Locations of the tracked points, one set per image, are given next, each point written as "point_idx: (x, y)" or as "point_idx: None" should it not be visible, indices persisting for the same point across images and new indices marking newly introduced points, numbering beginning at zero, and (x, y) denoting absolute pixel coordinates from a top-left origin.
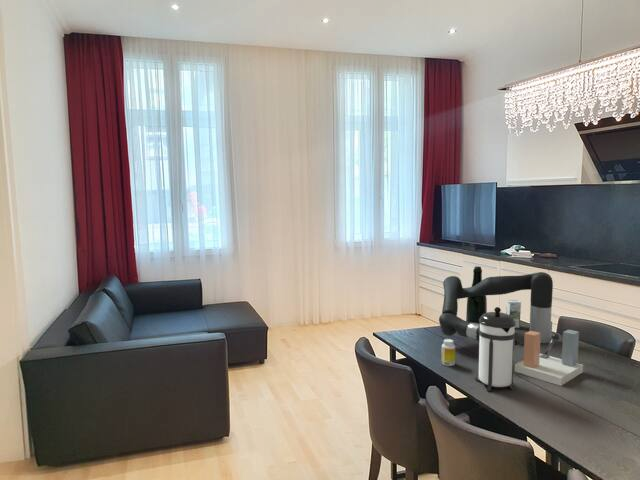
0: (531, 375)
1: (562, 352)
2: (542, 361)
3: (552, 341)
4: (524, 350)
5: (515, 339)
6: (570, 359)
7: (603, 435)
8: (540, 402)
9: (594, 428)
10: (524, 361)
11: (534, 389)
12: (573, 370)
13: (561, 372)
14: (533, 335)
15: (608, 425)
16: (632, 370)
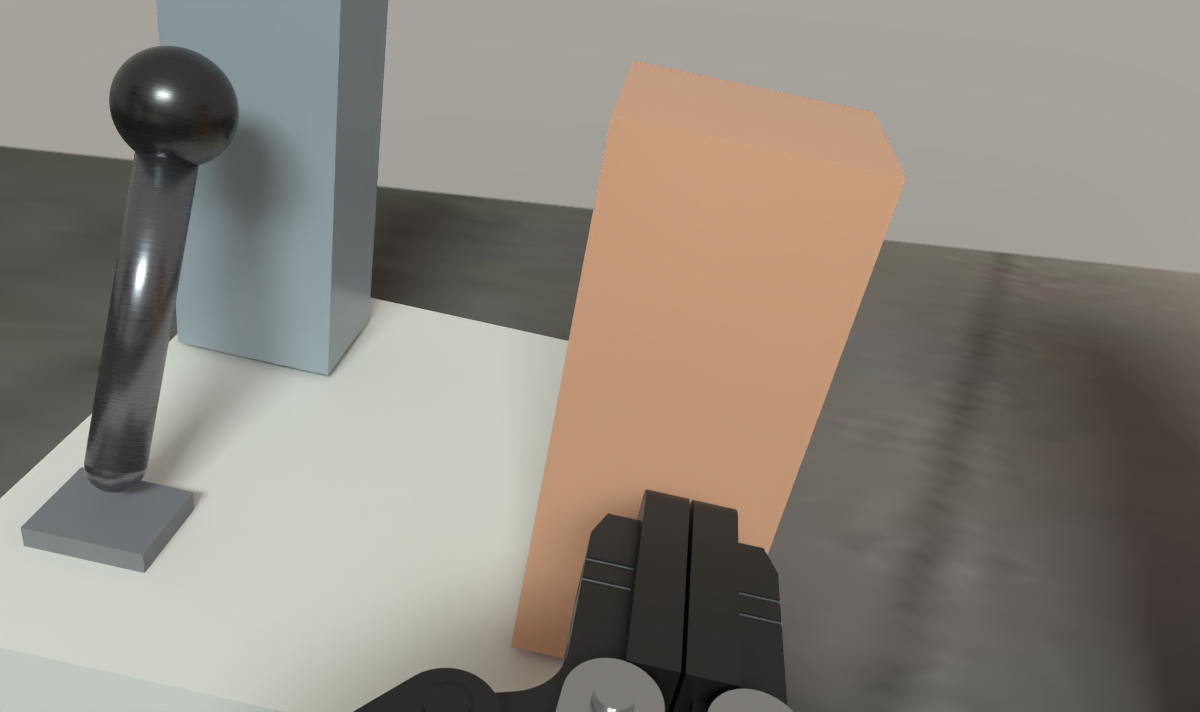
0: None
1: (334, 247)
2: (349, 529)
3: (190, 201)
4: (786, 495)
5: (691, 536)
6: (366, 263)
7: (1154, 317)
8: (1196, 528)
9: (1136, 334)
10: None
11: (1029, 591)
12: (471, 321)
13: None
14: (875, 122)
15: (1037, 299)
16: (29, 154)
